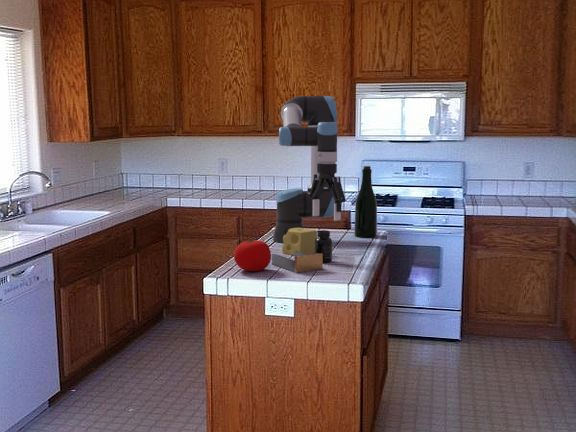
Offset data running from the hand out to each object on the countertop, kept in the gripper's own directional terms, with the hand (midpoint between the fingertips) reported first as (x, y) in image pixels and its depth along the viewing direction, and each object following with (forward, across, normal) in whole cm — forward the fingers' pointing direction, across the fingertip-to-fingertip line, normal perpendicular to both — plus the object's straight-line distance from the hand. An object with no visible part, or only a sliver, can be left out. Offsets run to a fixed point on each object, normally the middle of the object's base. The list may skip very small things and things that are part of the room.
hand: (326, 218), depth 264 cm
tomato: (+17, -2, -32) cm, 36 cm away
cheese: (+17, -18, 0) cm, 25 cm away
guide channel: (+17, +1, -15) cm, 23 cm away
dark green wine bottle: (+17, -35, +50) cm, 63 cm away
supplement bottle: (+17, 0, -1) cm, 17 cm away
